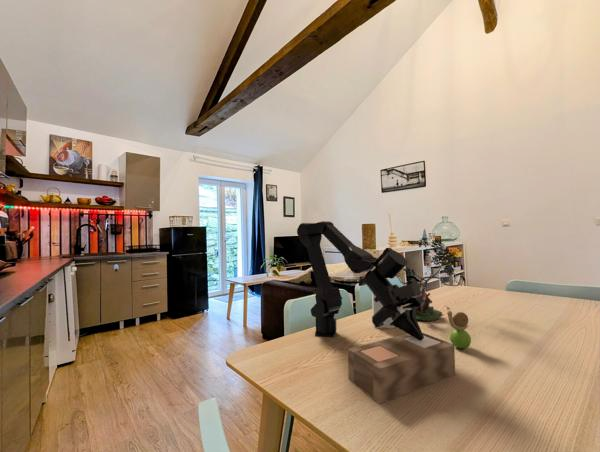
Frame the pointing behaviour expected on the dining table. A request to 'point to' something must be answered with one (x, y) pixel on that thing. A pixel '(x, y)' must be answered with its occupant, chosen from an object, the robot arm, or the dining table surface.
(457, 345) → the snail figurine
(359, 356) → the brown striped box
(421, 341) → the white box
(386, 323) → the supplement box
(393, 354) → the salmon pink block
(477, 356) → the dining table surface
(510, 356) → the dining table surface
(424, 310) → the bonsai tree
